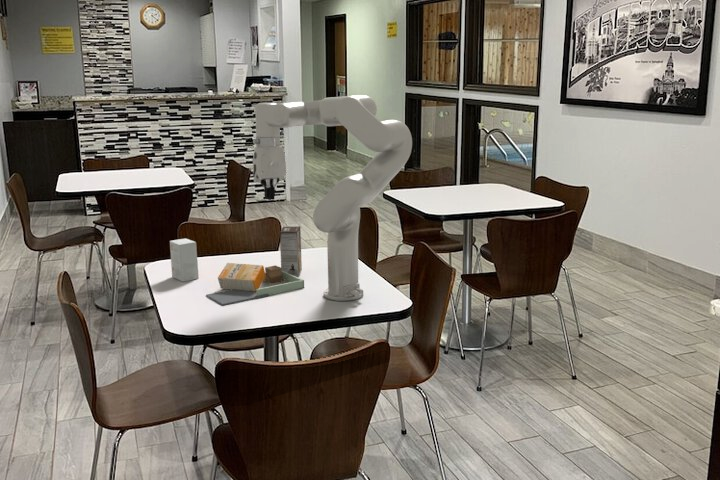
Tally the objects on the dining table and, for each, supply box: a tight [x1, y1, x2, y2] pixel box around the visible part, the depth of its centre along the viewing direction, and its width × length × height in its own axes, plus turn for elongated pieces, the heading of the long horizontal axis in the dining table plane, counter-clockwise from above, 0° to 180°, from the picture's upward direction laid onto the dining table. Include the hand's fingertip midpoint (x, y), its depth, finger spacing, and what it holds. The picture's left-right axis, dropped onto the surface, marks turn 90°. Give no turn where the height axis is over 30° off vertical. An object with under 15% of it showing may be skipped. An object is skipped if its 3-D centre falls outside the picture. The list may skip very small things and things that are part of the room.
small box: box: [169, 237, 199, 283], centre depth 246 cm, size 8×6×13 cm
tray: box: [256, 271, 305, 296], centre depth 235 cm, size 15×17×2 cm
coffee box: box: [279, 225, 303, 278], centre depth 249 cm, size 9×6×16 cm
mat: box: [205, 289, 270, 306], centre depth 226 cm, size 12×16×1 cm
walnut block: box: [264, 265, 283, 285], centre depth 241 cm, size 4×4×5 cm
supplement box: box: [217, 262, 266, 291], centre depth 233 cm, size 8×5×13 cm
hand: (269, 199), depth 231 cm, fingers closed
